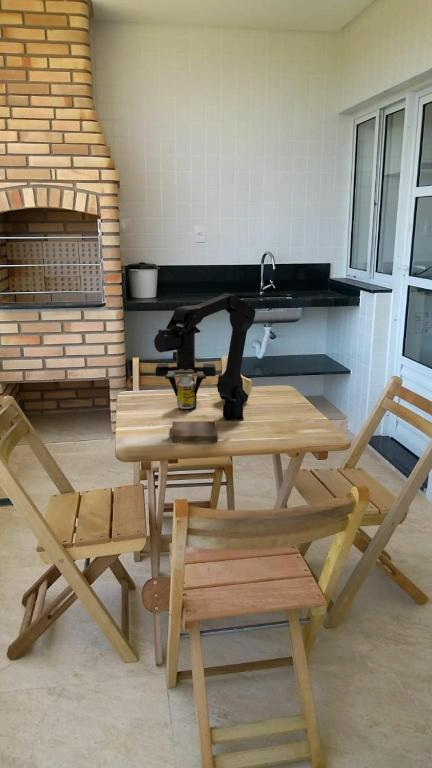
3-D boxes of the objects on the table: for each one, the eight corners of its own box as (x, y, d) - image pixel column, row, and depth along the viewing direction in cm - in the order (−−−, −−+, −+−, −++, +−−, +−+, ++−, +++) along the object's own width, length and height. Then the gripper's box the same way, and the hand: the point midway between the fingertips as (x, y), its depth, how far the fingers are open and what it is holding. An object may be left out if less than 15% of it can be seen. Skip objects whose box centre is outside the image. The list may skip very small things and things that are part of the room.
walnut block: (214, 426, 195) (215, 421, 194) (217, 441, 181) (217, 435, 181) (172, 427, 194) (172, 421, 194) (171, 442, 181) (171, 436, 180)
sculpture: (255, 400, 225) (256, 373, 222) (239, 408, 215) (240, 379, 213) (229, 395, 231) (230, 369, 228) (213, 403, 221) (213, 375, 219)
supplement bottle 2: (174, 409, 213) (174, 377, 210) (182, 404, 219) (182, 373, 216) (192, 412, 210) (192, 379, 207) (199, 406, 216) (199, 375, 213)
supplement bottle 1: (182, 410, 184) (182, 378, 182) (174, 405, 189) (173, 374, 186) (197, 407, 187) (197, 376, 185) (189, 403, 192) (189, 372, 189)
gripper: (214, 343, 191) (214, 389, 195) (157, 342, 191) (158, 389, 195) (215, 350, 180) (215, 398, 185) (154, 350, 180) (155, 398, 184)
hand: (185, 396), depth 187 cm, fingers closed on supplement bottle 1, 5 cm apart
